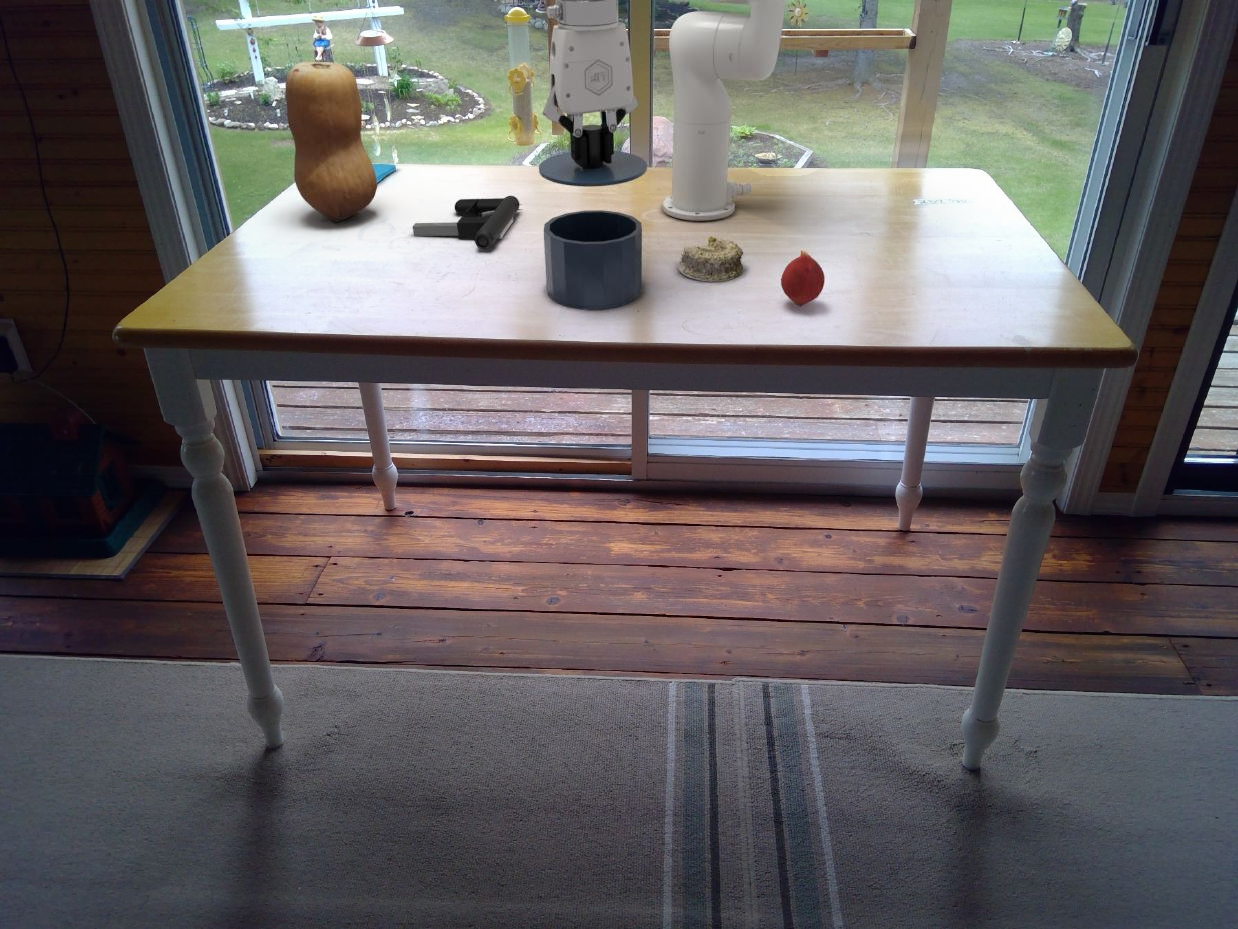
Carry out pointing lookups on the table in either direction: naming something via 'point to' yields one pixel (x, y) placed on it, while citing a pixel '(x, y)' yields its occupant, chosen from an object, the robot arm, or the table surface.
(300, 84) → the butternut squash
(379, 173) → the sponge
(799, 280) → the onion
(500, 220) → the door handle
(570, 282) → the pot
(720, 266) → the cake
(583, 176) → the pot lid
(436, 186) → the table surface
